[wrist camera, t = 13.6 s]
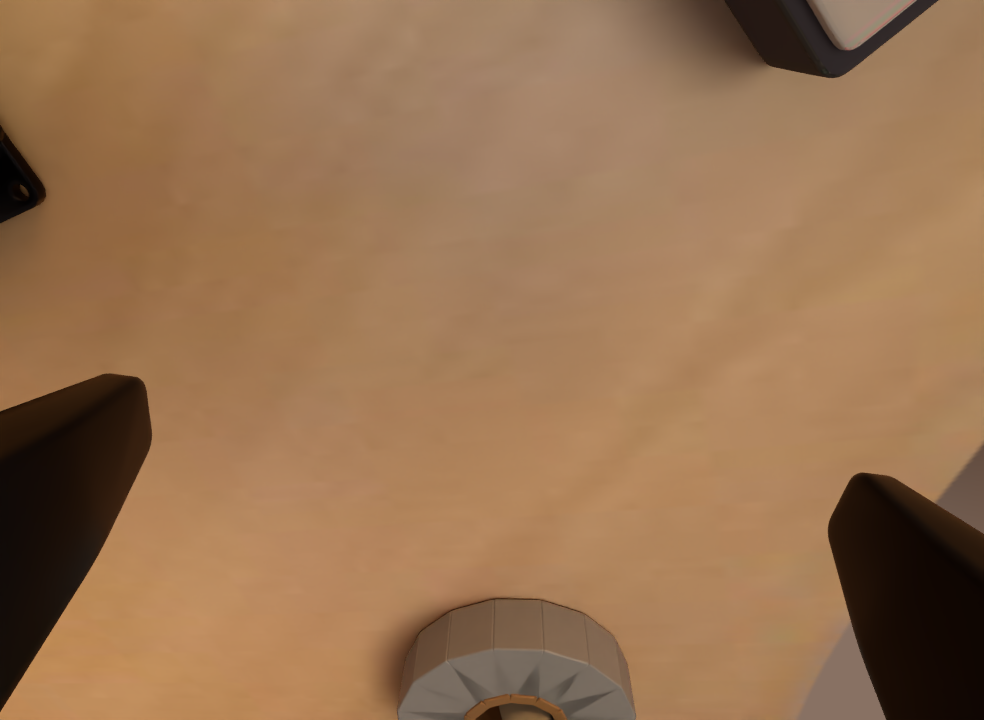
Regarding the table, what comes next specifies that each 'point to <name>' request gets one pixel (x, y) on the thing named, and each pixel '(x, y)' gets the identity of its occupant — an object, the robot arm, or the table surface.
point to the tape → (515, 665)
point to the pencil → (523, 712)
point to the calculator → (822, 30)
